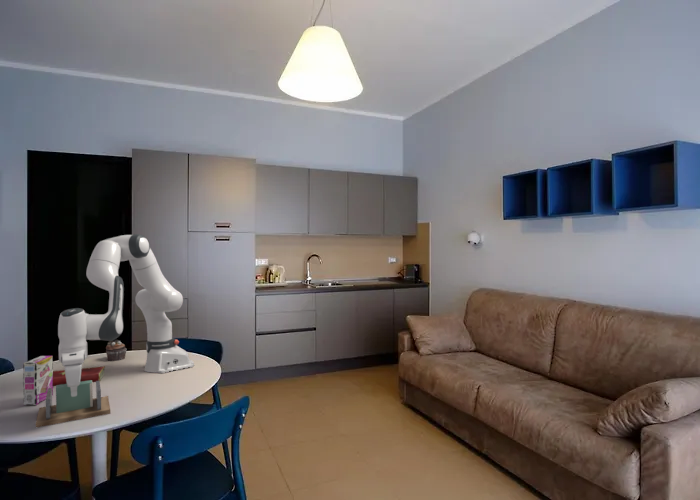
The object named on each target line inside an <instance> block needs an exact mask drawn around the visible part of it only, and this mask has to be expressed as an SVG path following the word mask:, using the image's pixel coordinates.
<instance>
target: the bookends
mask: <svg viewBox="0 0 700 500" xmlns="http://www.w3.org/2000/svg"><path fill="white" fill-rule="evenodd" d="M95 392H96V394H95V398H96V401H97V410H101V397H102V388H101V380H100V381H96V382H95ZM52 405H53V395H52V388H48V391H47V395H46V400H45V407H46V420H48V419H50V418H51V412H52Z"/></svg>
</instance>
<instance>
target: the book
mask: <svg viewBox="0 0 700 500" xmlns="http://www.w3.org/2000/svg"><path fill="white" fill-rule="evenodd" d="M93 395H94V394H93V382H92V380H88V381H82V382H80V385H79V386H77V396H74V397H72V396H71V389H70V387H68V386H67V384H62V385H56V386H55V405H56V413H61V412H67V411H72V410H78V409H84V408H89V407H93V399H94V398H93V397H94V396H93Z"/></svg>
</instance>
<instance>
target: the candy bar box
mask: <svg viewBox="0 0 700 500" xmlns="http://www.w3.org/2000/svg"><path fill="white" fill-rule="evenodd" d="M53 360H54V358H53V355H40V356H37V357H35V358H33V359H29V360H28V361H25V362H23V367H22V368H23V369H22V370H23V372H22V374H23V378H22V379H23V382H22V384H23V406H37V405H39V404H41V403H43V401H46V395H47V391H48V388H52V396H54V386H53V371H54V367H53V365H54V362H53Z"/></svg>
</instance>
